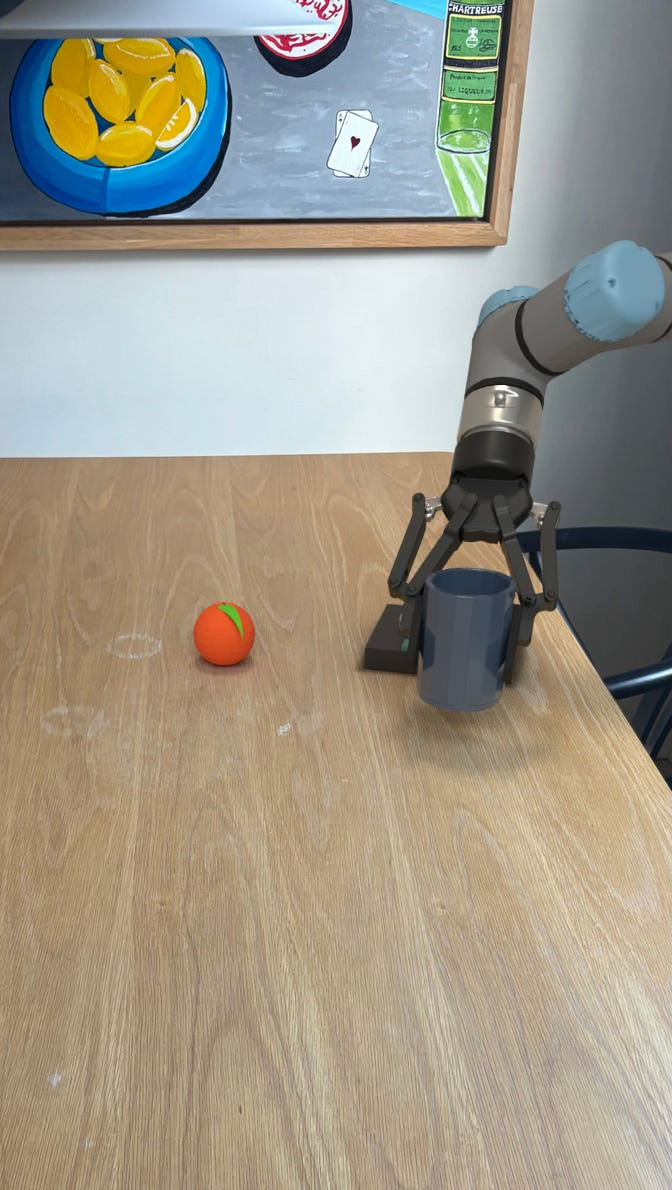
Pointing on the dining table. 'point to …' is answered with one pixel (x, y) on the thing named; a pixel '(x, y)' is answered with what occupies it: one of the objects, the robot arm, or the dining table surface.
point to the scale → (390, 643)
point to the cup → (464, 638)
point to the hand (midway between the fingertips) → (458, 672)
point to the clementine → (224, 633)
